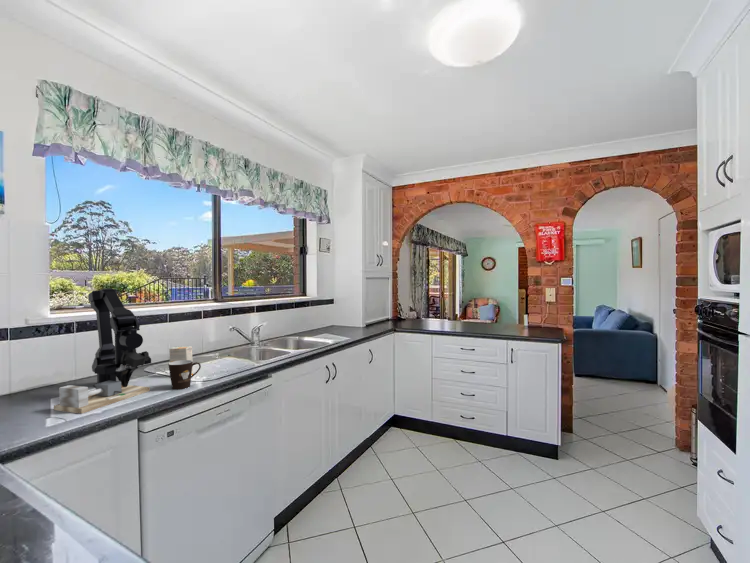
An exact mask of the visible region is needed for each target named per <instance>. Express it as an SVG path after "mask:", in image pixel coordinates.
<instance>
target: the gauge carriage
mask: <svg viewBox="0 0 750 563" xmlns="http://www.w3.org/2000/svg"><path fill="white" fill-rule="evenodd" d="M95 385H96V387H95V389H94V390H90V391H89V390H88V397H89V396H92V395H95V394H96V395H99V396H111V395H114V394H118V393H122V391H121V381H119V380H116V381H110V380H109V381H105V382H102V383H98V384H97V383H95Z"/></svg>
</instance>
